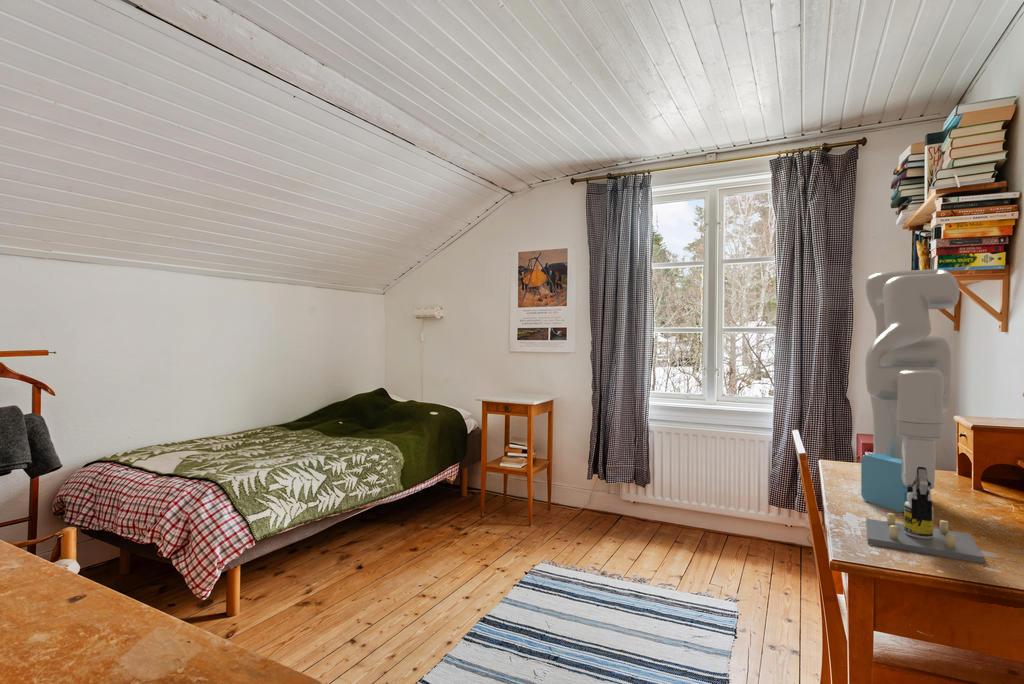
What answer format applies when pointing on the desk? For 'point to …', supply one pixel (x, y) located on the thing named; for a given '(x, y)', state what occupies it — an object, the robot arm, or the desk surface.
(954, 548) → the chassis plate
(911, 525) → the supplement bottle
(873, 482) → the data package
